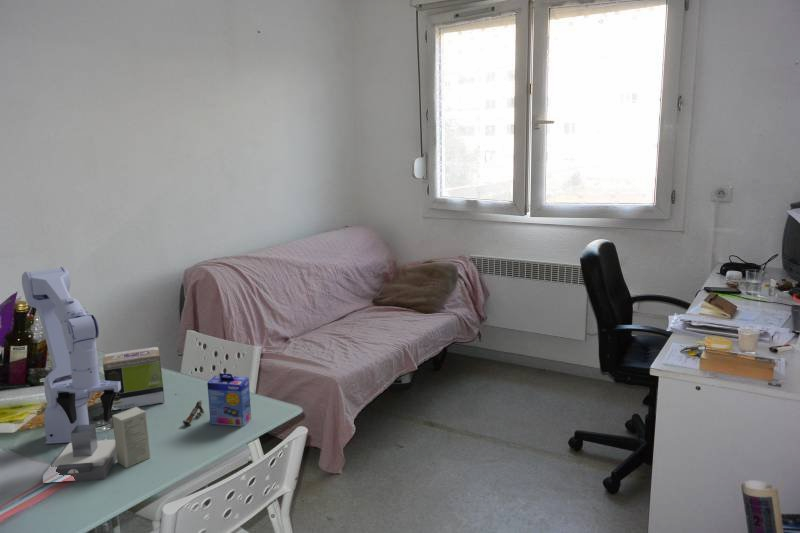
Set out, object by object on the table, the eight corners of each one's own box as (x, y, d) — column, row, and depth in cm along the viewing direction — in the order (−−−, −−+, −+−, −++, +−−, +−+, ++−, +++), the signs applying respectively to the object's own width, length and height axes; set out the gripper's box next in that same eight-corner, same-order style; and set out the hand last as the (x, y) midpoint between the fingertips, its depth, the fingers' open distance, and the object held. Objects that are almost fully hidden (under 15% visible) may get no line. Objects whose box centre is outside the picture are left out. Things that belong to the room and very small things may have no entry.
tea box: (162, 391, 182) (159, 345, 179) (164, 403, 173) (160, 355, 170) (108, 399, 176) (103, 352, 173) (107, 413, 167) (102, 363, 164)
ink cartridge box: (208, 425, 159) (205, 374, 156) (218, 416, 165) (214, 366, 162) (243, 427, 158) (240, 376, 155) (251, 418, 163) (249, 368, 160)
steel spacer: (73, 457, 137) (70, 433, 136) (79, 448, 141) (77, 425, 140) (91, 455, 138) (89, 431, 137) (97, 447, 142) (95, 424, 140)
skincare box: (141, 452, 145) (137, 405, 143) (151, 458, 142) (146, 410, 140) (116, 462, 140) (111, 414, 138) (125, 468, 137) (120, 420, 135)
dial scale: (42, 484, 131) (40, 470, 131) (67, 452, 145) (65, 440, 144) (104, 479, 133) (103, 466, 133) (123, 448, 147) (122, 436, 146)
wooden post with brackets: (207, 409, 166) (203, 398, 164) (193, 432, 160) (188, 421, 158) (202, 409, 167) (197, 398, 164) (187, 431, 161) (182, 420, 158)
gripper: (43, 374, 133) (50, 430, 136) (111, 371, 135) (117, 426, 138) (56, 363, 140) (63, 416, 143) (121, 360, 142) (126, 413, 145)
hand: (90, 420), depth 141 cm, fingers open, 7 cm apart
